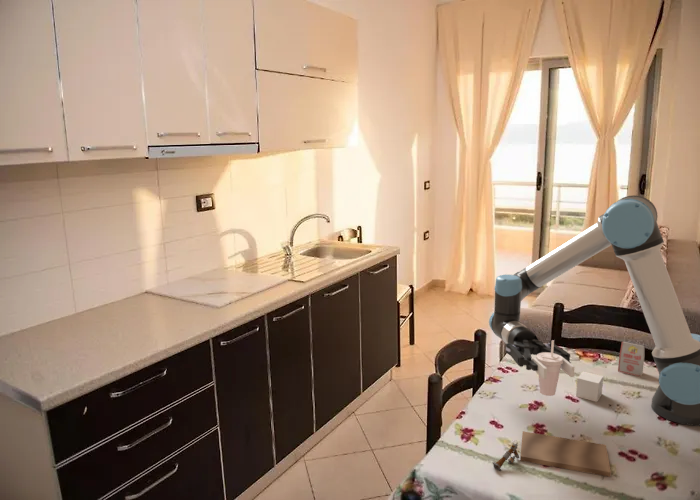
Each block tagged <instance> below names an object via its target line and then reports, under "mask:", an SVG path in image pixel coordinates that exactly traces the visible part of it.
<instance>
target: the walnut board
mask: <svg viewBox="0 0 700 500" xmlns="http://www.w3.org/2000/svg"><path fill="white" fill-rule="evenodd" d="M519 458H520V459H519V461H521V462H526V463H532V464H537V465H542V466H548V467H553V468H559V469H566V470H570V471H575V472H583V473H585V474H586V473H587V474H592V475H599V476H603V477H609V478H611V475H612V473H611V467H610V466H611V465H610V460H609V455H608V449H607V444H602V443H597V442H590V441H586V440H585V441H584V440H578V439H573V438H566V437H561V436H553V435H548V434H541V433H537V432H529V431H522V434H521V444H520V454H519Z"/></svg>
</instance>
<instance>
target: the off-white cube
mask: <svg viewBox="0 0 700 500" xmlns="http://www.w3.org/2000/svg"><path fill="white" fill-rule="evenodd" d="M603 384H604V375H600V374H596V373H591V372H586V371H582V372H581V373H580V374H579V375H578V377H577V380H576V388H575V389H576V390H575V391H576V392H575V397H577V398H579V399H580V398H581V399H585V400H589V401H593V402H595V403H597V402H598V401H599V400H600V398H601V396H602V395H603Z"/></svg>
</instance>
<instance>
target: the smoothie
mask: <svg viewBox="0 0 700 500" xmlns="http://www.w3.org/2000/svg"><path fill="white" fill-rule="evenodd" d="M551 341H552V344H551V353H550V352H543V353H539V354H537V355H535V356H536V357H535V358H536V359H537V360H538V361H539V362H541V363H542V364H543V365H544V366H545V367H546V368H547V379H543V378H542V377H541V376H540V375H539V374H538V383H539V384H538V385H539V393H540V394H541V395H543V396H546V397H547V396H548V397H551V396H552V397H553V396H555V395H556V391H557V386H558V381H559V376H560V372H561V364H562V363H563V358H562V357H561V356H560V355H558V354H555V353H553V350H554V343H555V339H554V340H553V339H552V340H551Z"/></svg>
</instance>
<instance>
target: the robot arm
mask: <svg viewBox="0 0 700 500" xmlns="http://www.w3.org/2000/svg"><path fill="white" fill-rule="evenodd" d="M664 243H665V241H664V239H663V236H662V232H661V230H660V227H659V224H658V211H657V208H656V206H655V204H654V203H653V202H652V201H651V200H649V199H648V198H646V197H644V196H642V195H635V194H634V195H628V196H625V197H621V198H620V199H618V200H617V201H615V202H613V203H612V204H611V205H610V206H609V207H608V208H606V211H605V212H604V213H603V214H601V215H599V216H598V217H597V221H596V222H595V223H594V224H592V225H591V226H589V227H587V228H586V229H584V230H583V231H581V232H579V233H578V234H576V235H574V237H571V238H570V239H569V240H567V241H566V242H564V243H562V244H561V245H559V246H558V247H556V248H554V249H552V250H551V251H550V252H548V253H546V254H544V255H543V256H542V257H540V258H538V259H537V260H535V261H534V262H531V264H529V265H528V266H526V267H525V268H523V269H521V270H519V271H517V272H516V273H514V274H501V275H498V276H497V277H496V278H495V285H494V310H493V312H492V314H491V315H490V317H489V321H488V323H489V324H488V325H489V327H490V330H491V331H492V332H493V333H494V334H495V335H496V336H497V337H498V338H500V340H502V341H503V342H504V344H505V354H507V355H509V356H510V357H511V358H512V359H513V361H514V362H515V363H516V364H517V366H519V367H521V368H523V367H524V366H525V370H527V371H535V372H536V373H537V374H538V376H539V375H540V376H541V377H542V378H543V379H547V368H546V367H545V366H544V365H543V364H542V363H541V362H539V361H538V360H537V359H536V357H532V356H533V355H534V356H537V354H539V353H543V352H550V353H551V344H552V340H550V341H549V342H547V343H544V342H543V341H542V340H539V338H538V336H537V335H536V333H534V332H533V331H532V330H531V329H529V328H528V327H527V326H526V325H525V324H523V323H522V322H521V304H522V303H521V302H522V301H523V300H524V299H525V298H526V297H527V296H528V295H530V294H532V293H533V292H535V291H538V289H540V288H542V287H543V286H545V285H546V284H548V283H550V282H552V281H553V280H555V279H556V278H559V277H560V276H562V275H563V274H565V273H566V272H568V271H570V270H572V269H574V268H575V267H577V266H579V265H581V264H582V263H584V262H585V261H587V260H589V259H590V258H592V257H593V256H595V255H597V254H598V253H601V252H602V251H604V250H606V249H607V248H609V247H611V246H612V250H613V252H614V255H615V257H616V258H619V259H621V260H623V261H624V263H625V266H626V269H627V272H628V274H629V277H630V280H631V283H632V285H633V288H634V291H635V294H636V296H637V298H638V299H637V300H638V301H639V304H640V307H641V310H642V313H643V316H644V319H645V322H646V324H647V326H648V329H649V331H650V334H651V337H652V340H653V342H654V344H655V346H654V348H653V350H652V352H651V356H652V359H653V360H654V364H655V366H656V369H657V371H658V372H657V373H658V374H659V375H658V383H659V385H658V386H657V389H656V390H655V392H654V394H653V395H652V397H651V405H650V406H651V409H652V411H653V412H655V413H656V414H657V415H658V416H660V417H662V418H664V419H666V420H669V421H671V422H674V423H678V424H682V425H687V426H700V334H697V333H691V330H690V328H689V325H688V323H687V320H686V317H685V314H684V311H683V308H682V305H681V304H680V301H679V298H678V295H677V293H676V290H675V288H674V284H673V282H672V280H671V277H670V274H669V272H668V271H669V270H668V269H667V266H666V263H665V260H664V257H663V255H662V252H661V249H662V247H663V245H664ZM553 353H555V354H558V355H560V356H561V357H562V358H563V363H562V364H561V368H560V370H562V371H563V372H564V373H566V374H567V376H569V377H570V378H575V377H574V376H575V369H576V367H575V365H573V364H572V362H571V361H570V358H571V354H570V353H569V352H567V351H566V350H564V349H563V348H562V347H560V346H558V345H557V344H556V343H555V342H554V350H553Z"/></svg>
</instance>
